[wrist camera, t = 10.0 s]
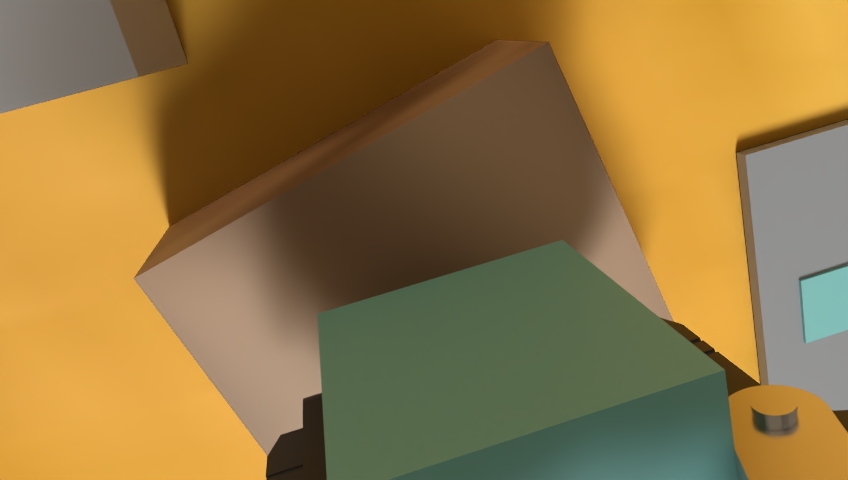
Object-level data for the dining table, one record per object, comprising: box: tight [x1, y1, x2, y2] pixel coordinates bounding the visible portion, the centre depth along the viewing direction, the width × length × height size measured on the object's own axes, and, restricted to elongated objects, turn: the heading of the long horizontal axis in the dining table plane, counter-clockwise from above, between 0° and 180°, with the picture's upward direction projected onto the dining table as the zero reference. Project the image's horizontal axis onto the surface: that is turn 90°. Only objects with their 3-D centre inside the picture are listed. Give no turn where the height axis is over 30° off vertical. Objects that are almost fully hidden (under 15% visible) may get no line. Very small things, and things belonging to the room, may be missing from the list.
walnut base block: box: [134, 40, 674, 456], centre depth 16 cm, size 9×9×4 cm
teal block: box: [317, 240, 738, 480], centre depth 10 cm, size 4×4×5 cm
